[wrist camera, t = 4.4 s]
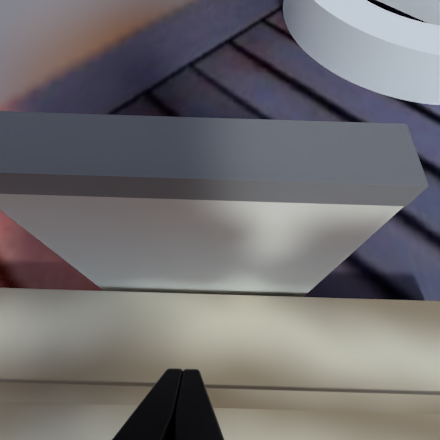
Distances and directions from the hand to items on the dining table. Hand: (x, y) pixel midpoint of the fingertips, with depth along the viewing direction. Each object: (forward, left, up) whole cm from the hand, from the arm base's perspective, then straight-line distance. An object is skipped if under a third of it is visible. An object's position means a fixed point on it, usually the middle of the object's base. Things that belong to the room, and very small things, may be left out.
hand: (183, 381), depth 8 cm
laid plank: (-1, -1, -10) cm, 10 cm away
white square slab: (+4, +4, -10) cm, 11 cm away
